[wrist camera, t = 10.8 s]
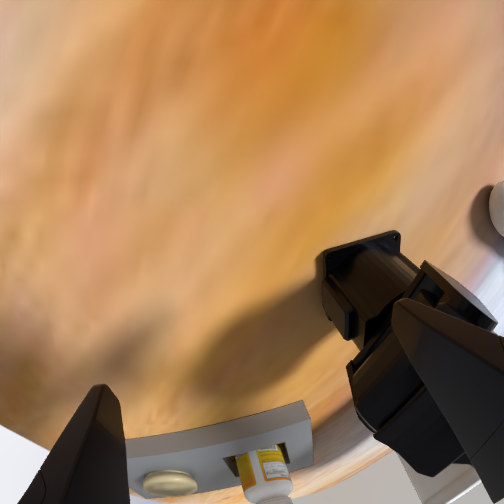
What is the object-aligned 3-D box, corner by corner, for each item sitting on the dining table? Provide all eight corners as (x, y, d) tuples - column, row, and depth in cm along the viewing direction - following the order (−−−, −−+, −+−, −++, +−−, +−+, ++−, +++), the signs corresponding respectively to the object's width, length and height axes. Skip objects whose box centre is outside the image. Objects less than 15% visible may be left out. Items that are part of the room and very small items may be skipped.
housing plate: (302, 400, 30) (315, 430, 27) (308, 450, 37) (317, 473, 34) (93, 442, 28) (91, 471, 24) (145, 484, 35) (146, 507, 31)
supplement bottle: (241, 457, 34) (259, 522, 26) (226, 442, 32) (243, 516, 23) (281, 444, 35) (304, 509, 26) (270, 428, 32) (295, 501, 23)
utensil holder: (373, 425, 38) (425, 520, 23) (353, 380, 31) (429, 515, 16) (455, 370, 38) (518, 451, 23) (460, 308, 30) (555, 411, 15)
